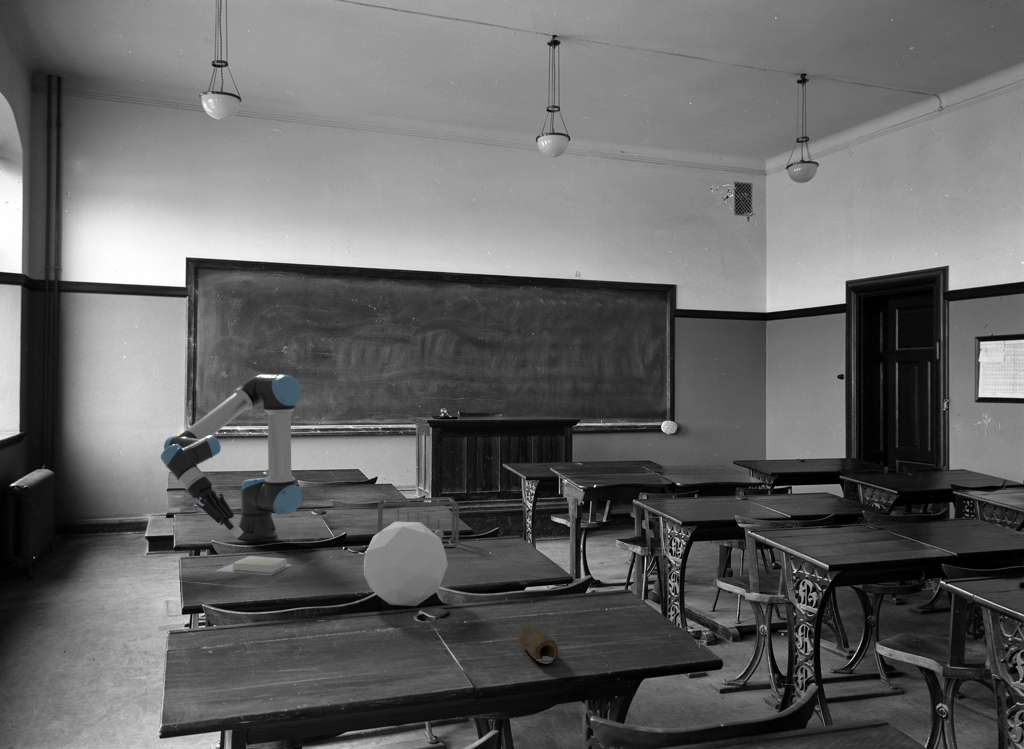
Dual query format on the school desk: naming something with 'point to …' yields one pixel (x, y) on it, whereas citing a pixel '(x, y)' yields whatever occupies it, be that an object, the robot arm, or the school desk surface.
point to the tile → (259, 564)
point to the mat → (230, 569)
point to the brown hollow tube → (537, 642)
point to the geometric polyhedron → (405, 563)
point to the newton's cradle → (437, 532)
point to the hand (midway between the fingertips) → (239, 535)
